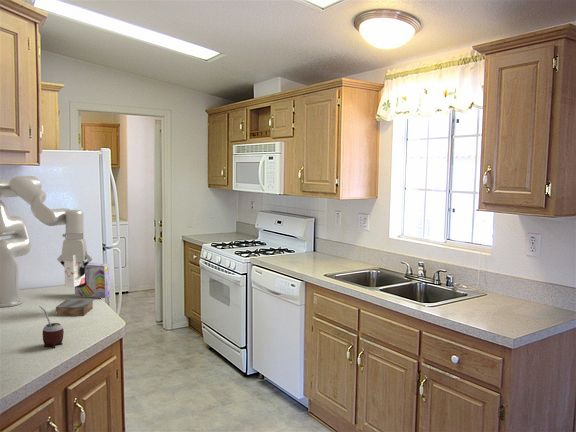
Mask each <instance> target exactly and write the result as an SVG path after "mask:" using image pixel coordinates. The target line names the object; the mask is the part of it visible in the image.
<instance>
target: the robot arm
mask: <svg viewBox="0 0 576 432" xmlns="http://www.w3.org/2000/svg"><path fill="white" fill-rule="evenodd" d="M42 187H43V186H42V181H41V180H40V179H39V178H38V177H37V176H33V175H19V176H18V175H17V176H14V177H12V178H11V179H0V237H2V238H3V237H9V236H10V238H4V239H0V308H6V307H14V306H18V305H21V304H22V303H23V299H22V298H20V295H19V287H20V286H19V265H18V263H17V261H16V259H15V258H18V257H23V256H25V255H28V254H29V253H30V251H31V248H32V247H31V246H32V245H31V240H30V236H29V232H28V228H27V225H26V222H25V221H24V219H23V218H22V217H20V216H19V215H10V214H9V212H8V209H7V206H6V204H5V203H4V202H3V201H2V199H1V198H15V197H20V198H21V200H23V201H25V202H26V204H28V205H30V210H31V211H30V212H31V213H32V215H33V216H34V217H35V218H36V219H37V221H39V222H40V223H42V224H44V225H45V226H47V227H55V226H56V227H57V226H63V225H64V226H65V233H63V234H62V238H64V239H63V242H62V246H61V255H59V256H58V257H57V259H56V260H57V261H58V262H59V263H60V264H61V265H62V267H64V261H73V255H76V262H80V264H81V268H80V276H83V275H84V274H85V266H86V265H87V264H88V263H92V261H93V258H92V257H91V256H90V255H89V254H88V249H87V244H86V243H87V242H86V239H85V237H84V212H83V210H81V209H70V208H52V209H51V208H49V207H48V206H47V205H45V204H44V202H45V201H46V198H47V194H46V192H45V191H43V190H42ZM84 260H85V261H84Z"/></svg>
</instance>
